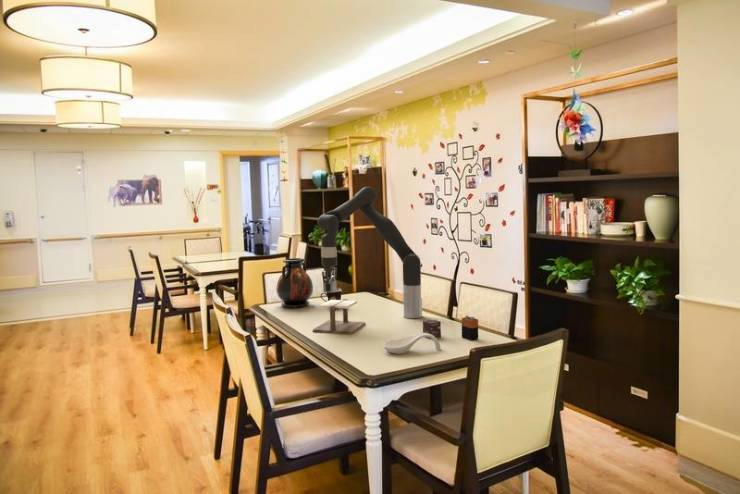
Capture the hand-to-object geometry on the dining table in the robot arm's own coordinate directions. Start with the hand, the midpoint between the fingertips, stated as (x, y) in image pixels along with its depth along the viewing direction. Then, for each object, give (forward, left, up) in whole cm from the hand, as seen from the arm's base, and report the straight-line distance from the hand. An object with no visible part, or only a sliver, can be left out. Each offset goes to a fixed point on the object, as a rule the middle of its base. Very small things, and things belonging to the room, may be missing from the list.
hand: (330, 290), depth 268 cm
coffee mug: (+18, -46, -19) cm, 53 cm away
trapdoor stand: (-4, 0, -19) cm, 19 cm away
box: (-51, +6, -19) cm, 55 cm away
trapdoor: (-4, 0, -7) cm, 8 cm away
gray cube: (0, 0, 0) cm, 0 cm away
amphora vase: (+41, -45, -19) cm, 64 cm away
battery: (-68, +5, -19) cm, 71 cm away
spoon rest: (-48, +30, -19) cm, 59 cm away
